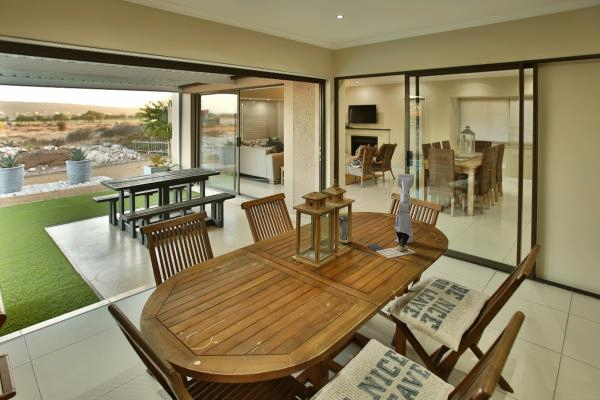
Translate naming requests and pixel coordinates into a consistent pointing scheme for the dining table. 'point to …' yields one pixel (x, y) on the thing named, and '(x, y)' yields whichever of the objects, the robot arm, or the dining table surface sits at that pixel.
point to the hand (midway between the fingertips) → (402, 244)
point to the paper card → (394, 252)
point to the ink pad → (374, 247)
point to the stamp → (402, 247)
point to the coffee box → (343, 227)
